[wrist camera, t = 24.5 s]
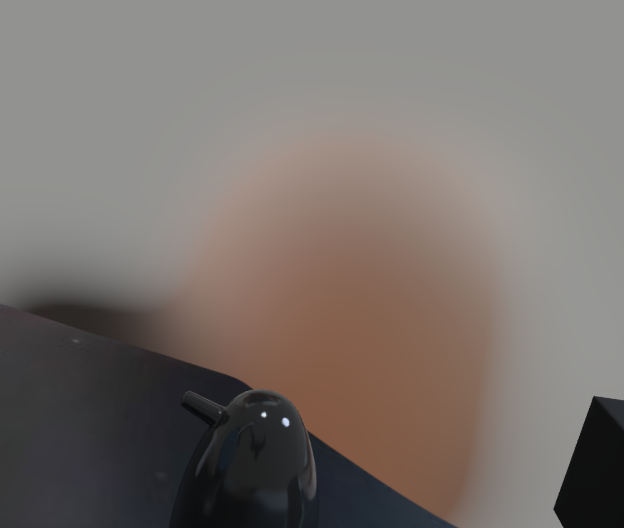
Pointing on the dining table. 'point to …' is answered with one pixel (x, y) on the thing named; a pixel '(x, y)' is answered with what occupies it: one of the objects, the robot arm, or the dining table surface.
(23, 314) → the dining table surface
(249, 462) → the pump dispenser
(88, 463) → the dining table surface
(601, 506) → the robot arm
